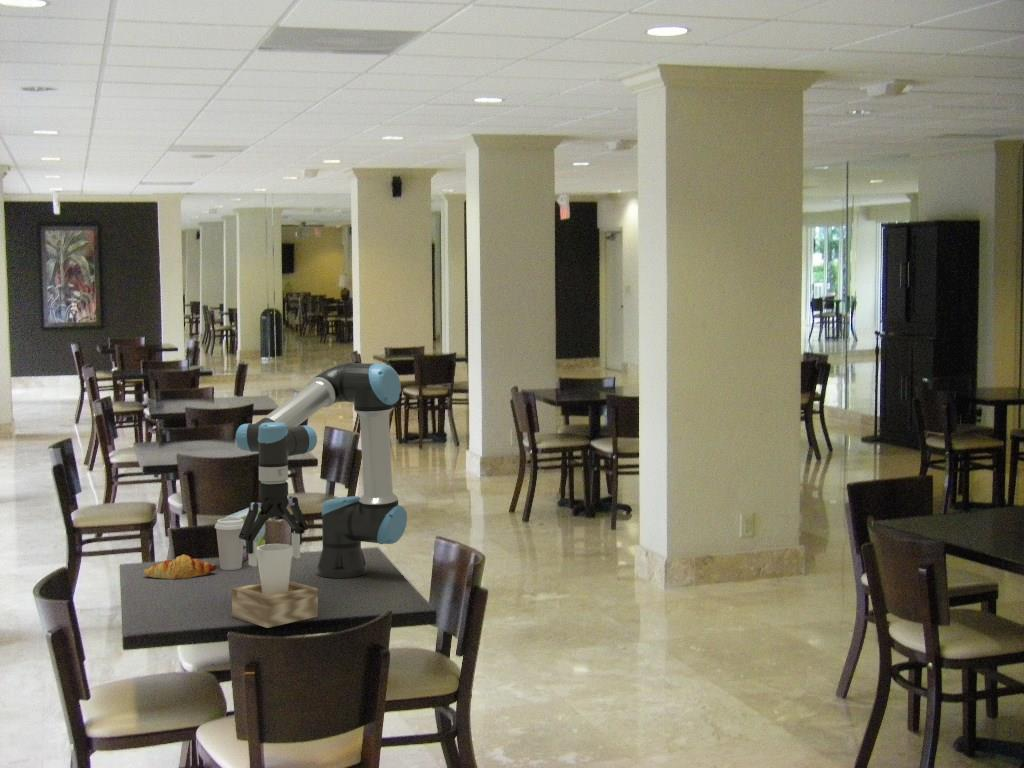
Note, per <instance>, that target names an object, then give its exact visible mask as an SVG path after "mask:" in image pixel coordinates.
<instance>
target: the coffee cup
mask: <svg viewBox="0 0 1024 768" xmlns="http://www.w3.org/2000/svg"><path fill="white" fill-rule="evenodd" d="M243 524H244V520H243V519H241V518H225V517H224V518H219V519H217V520H216V523H215V525H214V529H215V530H216V539H217V549H218V558H219V568H220V570H223V571H236V570H240V569H242V566H243V565H242V564H243V562H242V555H243V542H244V540H243V539H240V538H239V535H240V532H241V529H242V527H243Z"/></svg>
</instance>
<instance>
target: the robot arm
mask: <svg viewBox="0 0 1024 768" xmlns="http://www.w3.org/2000/svg"><path fill="white" fill-rule="evenodd" d="M401 389H402V387H401V380H400V375H398V372H397V371H396V370H395V369H394V368H393V367H392V366H391V365H388V364H380V363H365V362H364V363H359V362H357V363H355V362H345V363H340V364H337V365H334V366H332V367H329V368H327V369H326V370H324V371H322V372H320V373H318V374H317V375H316V376H314V377H313V378H311V379H310V380H309V381H308V383H307V386H306V387H305V388H303V389H302V390H300V391H299V392H297V393H296V394H295V395H294V396H292V397H291V398H289V399H288V400H287V401H285V402H283V403H282V404H280V406H278V407H276V408H275V409H274V410H272V411H271V412H269V413H268V414H267V415H266V416H264V417H263V418H261V419H259V420H258V421H256V423H251V422H250V423H243V424H241V425H239V427H238V428H237V430H236V432H235V442H236V445H237V447H238V448H239V449H240V450H241V451H244V452H245V451H246V452H251V453H258V481H259V484H258V495H259V498H260V500H259V502H249V504H248V508H249V511H248V514H247V517H246V519H245V522H244V524H243V527H242V529H241V532H240V535H239V538H240V539H243V540H245V541H246V552H247V553H248V557H249V559H248V566H252V567H258V559H257V541H254V539H255V537H256V536H257V534H258V533H259V531H260V530H261V528H262V526H263V525H264V523H265V524H266V522H267V521H268V520H269V519H270V518H271V519H273V518H276V517H277V518H278V517H282V519H284V520H285V522H286V523H287V525H288V526H289V527H291V529H292V530H293V532H291V535H290V536H291V546H293V556H292V558H294V559H301V545H302V544H303V535H304V533H305V531H307V530H309V526H308V525H309V524H308V523H307V521H306V519H305V517H304V514H303V513H302V509H301V508H300V506H299V499H298V497H296V496H292V495H291V496H289V482H288V480H289V464H288V463H289V461H288V460H289V457H291V456H298V455H305V454H307V453H310V452H312V451H314V449H315V448H316V446H317V444H318V435H317V433H316V431H315V429H314V428H313V427H311V426H310V425H301V424H303V422H305V421H306V420H308V419H309V418H311V416H314V414H316V413H317V412H319V411H320V410H322V409H323V408H329V407H331V406H332V405H334V404H337V403H353V408H354V409H353V410H354V412H356V414H357V415H359V426H360V446H361V462H362V465H361V467H362V480H363V482H362V485H363V494H362V496H357V495H355V496H354V495H353V496H341V497H336V498H330V499H327V500H325V501H324V502H323V504H322V509H321V510H322V511H321V521H322V522H321V523H322V526H321V528H322V531H321V532H322V536H321V537H322V549H321V553H320V557H319V559H318V563H317V565H316V574H317V575H318V576H320V577H323V578H330V579H331V578H333V579H348V578H355V577H361V576H364V575H365V574H367V572H368V565H367V562H366V558H365V556H364V552H363V550H362V549H363V548H362V542H363V543H365V542H366V543H374V544H379V545H393V544H395V543H397V542H399V540H400V539H402V536H403V534H404V533H405V530H406V527H407V523H408V513H407V510H406V509H405V508H404V506H402V505H399V497H398V496H397V495H396V494H395V493H394V491H393V471H392V453H391V452H392V451H391V432H390V431H391V430H390V413H391V412H392V411H393V409H394V408H395V407H394V404H396V403H397V402H398V401H399V400H400V395H401V392H402V390H401ZM288 496H289V497H288ZM288 506H289V508H290V509H291V512H292V515H291V512H290V511H289V510H288V508H287V507H288ZM259 508H260V509H261V511H260V512H259V514H258V518H257V519H256V516H257V513H258V510H260V509H259ZM293 516H294V517H293ZM255 519H256V521H255ZM254 521H255V522H254Z"/></svg>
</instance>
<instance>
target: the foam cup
mask: <svg viewBox="0 0 1024 768" xmlns="http://www.w3.org/2000/svg"><path fill="white" fill-rule="evenodd" d="M292 556H293V546H292V544H287V543H267V544H265V545H261V546H258V547H257V567H258V572H259V578H260V583H261V587H262V594H265V595H268V596H271V595H275V594H280V593H285V592H288V586H289V581H290V577H291V570H292V569H291V567H292V560H293V557H292Z"/></svg>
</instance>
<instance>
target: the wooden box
mask: <svg viewBox="0 0 1024 768" xmlns="http://www.w3.org/2000/svg"><path fill="white" fill-rule="evenodd" d="M318 591H319V589H318V588H317V587H313V586H311V585H310V586H309V585H306V584H303V583H299V582H295V581H292V580H289V586H288V592H285V593H280V594H275V595H271V596H268V595H265V594H262V587H261V582H260V583H254V584H253V583H252V584H249V585H243V586H238V587H233V588H231V615H232V616H231V617H233V618H236V619H238V620H242V621H245V622H247V623H250V624H254V625H257V626H260V627H263V628H267V629H269V628H275V627H279V626H283V625H286V624H291V623H296V622H299V621H304V620H308V619H312V618H313V619H314V618H318V617H319V595H318V593H319V592H318Z"/></svg>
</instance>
